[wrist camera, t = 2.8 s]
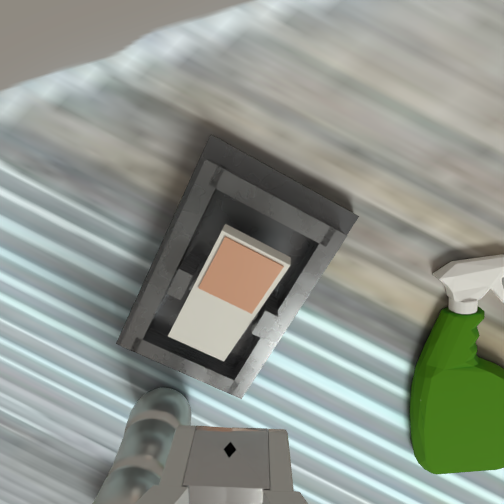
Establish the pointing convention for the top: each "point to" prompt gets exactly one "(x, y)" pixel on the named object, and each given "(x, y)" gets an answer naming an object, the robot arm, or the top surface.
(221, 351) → the rocker
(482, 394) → the spray bottle
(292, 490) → the robot arm
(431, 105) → the top surface
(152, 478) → the plastic bottle
